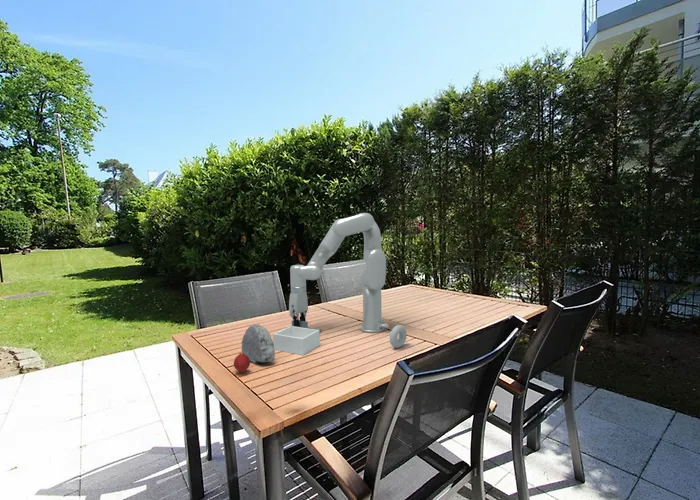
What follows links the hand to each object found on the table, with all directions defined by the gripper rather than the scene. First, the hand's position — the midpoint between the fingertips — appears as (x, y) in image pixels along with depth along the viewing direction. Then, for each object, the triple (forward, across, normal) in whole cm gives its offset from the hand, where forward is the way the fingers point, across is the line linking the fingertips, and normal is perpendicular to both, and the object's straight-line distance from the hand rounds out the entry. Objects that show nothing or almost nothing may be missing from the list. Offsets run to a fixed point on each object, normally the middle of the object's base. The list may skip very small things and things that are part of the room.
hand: (299, 325), depth 174 cm
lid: (+5, 0, 0) cm, 5 cm away
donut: (+5, -3, +51) cm, 51 cm away
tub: (+4, +16, +10) cm, 19 cm away
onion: (+5, +46, +7) cm, 47 cm away
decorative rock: (+5, +35, +5) cm, 36 cm away
